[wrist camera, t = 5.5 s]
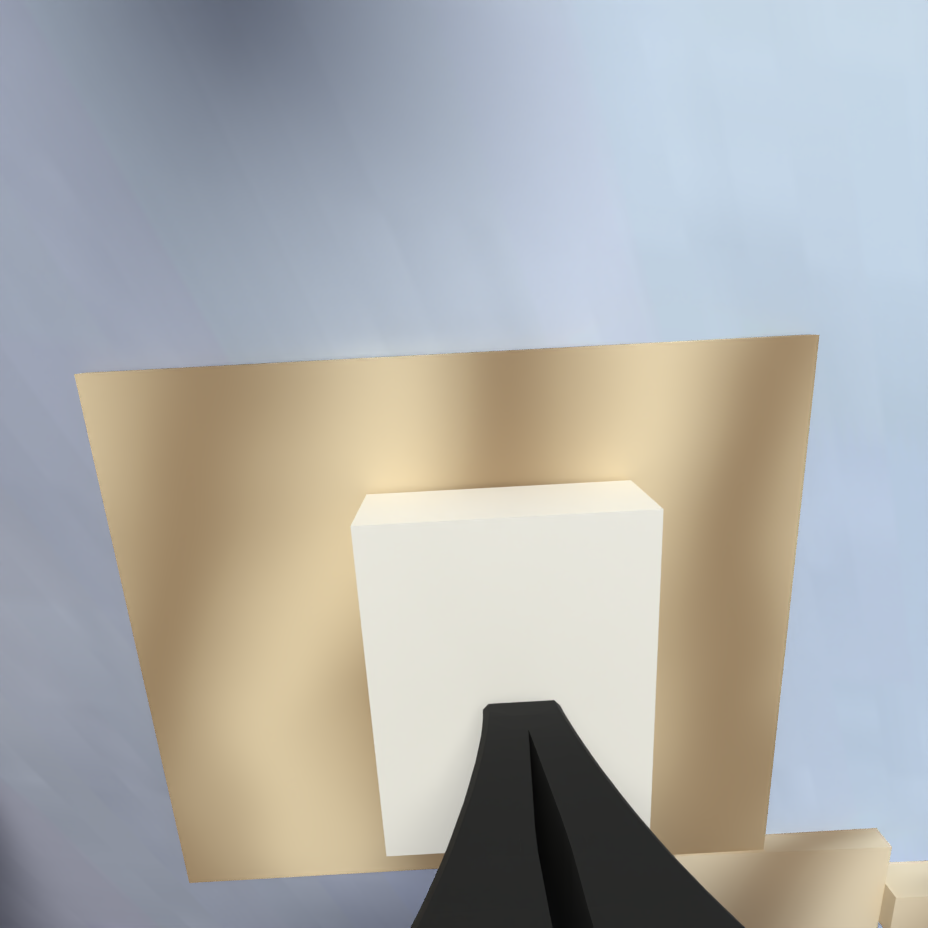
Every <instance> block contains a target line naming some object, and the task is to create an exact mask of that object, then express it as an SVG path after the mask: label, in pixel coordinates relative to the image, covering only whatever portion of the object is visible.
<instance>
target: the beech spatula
mask: <svg viewBox="0 0 928 928" xmlns="http://www.w3.org/2000/svg"><path fill="white" fill-rule="evenodd" d="M891 849H892V847H891V845H890V844H889V843H888V842H887V841H886V839H885V838H884V837H883V836H882V834H881V833H880V832H879V831H878V830H877V828H870V829H853V830H835V831H818V832H801V833H784V834H767V835H765V841H764V850H749V851H732V852H715V853H697V854H680V855H673V856H674V857H675V858H676V859H677V860H678V861H679V862H680V863H681V864H682V865H683V866H684V867H685V868H686V870H687V871H688V872H689V873H690V874H691V875H692V876H693V877H694V878H695V879H696V880H697V881H698V882H699V883H700V884H701V885H702V886H703V887H704V888H705V889H706V890H707V891H708V892H709V893H710V894H711V895H712V896H713V897H714V898H715V899H716V900H717V901H718V902H719V903H720V904H721V905H722V906H723V907H724V908H725V909H726V910H727V911H729V912H730V913H731V914H732V915H733V916H734V917H735V918H736V919H737V920H738V921H739V922H740V923H741V924H742V925H743V926H744V927H745V928H877V927H878V921H879V923H880V924H881V925H882V927H883V928H928V861H911V862H890V863H889V860H890V854H891Z"/></svg>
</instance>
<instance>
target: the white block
mask: <svg viewBox="0 0 928 928" xmlns="http://www.w3.org/2000/svg"><path fill="white" fill-rule="evenodd" d="M663 510H664V509H663V508H662V507H661V506H659V505H658V504H657V503H656V502H655V501H654V500H653V499H652V498H650V497H649V496H648V495H647V494H646V493H645V492H644V491H643V490H641V489H640V488H639V487H638V486H637V485H636V484H635V483H634V482H632V481H631V480H624V481H605V482H587V483H569V484H550V485H532V486H513V487H495V488H476V489H458V490H439V491H421V492H402V493H384V494H366V496H365V498H364V500H363V502H362V504H361V506H360V508H359V510H358V512H357V514H356V516H355V518H354V520H353V522H352V524H351V526H350V527H351V536H352V545H353V554H354V564H355V573H356V582H357V591H358V600H359V609H360V619H361V628H362V637H363V646H364V655H365V664H366V673H367V683H368V692H369V701H370V710H371V719H372V728H373V738H374V747H375V756H376V765H377V774H378V783H379V792H380V802H381V811H382V820H383V829H384V838H385V847H386V856H402V855H420V854H437V853H445V852H446V849H447V847H448V844H449V841H450V839H451V836H452V833H453V830H454V828H455V825H456V822H457V819H458V817H459V814H460V811H461V808H462V805H463V803H464V799H465V796H466V793H467V790H468V786H469V783H470V779H471V775H472V772H473V768H474V765H475V761H476V757H477V752H478V748H479V743H480V738H481V731H482V723H483V709H484V708H485V707H486V706H487V705H488V704H493V703H511V702H529V701H546V700H555V701H556V702H557V703H558V704H559V705H560V706H561V708H562V710H563V711H564V713H565V715H566V717H567V718H568V720H569V722H570V723H571V725H572V726H573V728H574V729H575V731H576V733H577V734H578V736H579V737H580V739H581V740H582V742H583V743H584V744H585V746H586V747H587V749H588V750H589V752H590V753H591V755H592V756H593V757H594V759H595V760H596V762H597V763H598V764H599V766H600V767H601V768H602V770H603V771H604V772H605V774H606V775H607V776H608V778H609V779H610V780H611V782H612V783H613V784H614V786H615V787H616V788H617V789H618V791H619V792H620V793H621V795H622V796H623V797H624V798H625V800H626V801H627V802H628V803H629V805H630V806H631V807H632V808H633V810H634V811H635V812H636V813H637V814H638V816H639V817H640V818H641V819H642V820H643V822H644V823H645V824H646V825H647V826H648V827H649V829H650V818H651V794H652V771H653V747H654V723H655V700H656V676H657V652H658V629H659V605H660V581H661V558H662V534H663Z"/></svg>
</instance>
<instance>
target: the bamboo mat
mask: <svg viewBox="0 0 928 928" xmlns="http://www.w3.org/2000/svg"><path fill="white" fill-rule="evenodd" d="M818 342H819V335H791V336H772V337H753V338H734V339H715V340H697V341H678V342H659V343H640V344H621V345H602V346H583V347H564V348H545V349H526V350H507V351H489V352H470V353H451V354H432V355H413V356H394V357H375V358H356V359H337V360H318V361H299V362H281V363H262V364H243V365H224V366H205V367H186V368H167V369H148V370H129V371H110V372H91V373H81V374H74V375H75V379H76V384H77V388H78V393H79V397H80V402H81V406H82V410H83V415H84V419H85V424H86V428H87V432H88V437H89V441H90V446H91V450H92V455H93V459H94V463H95V468H96V472H97V477H98V481H99V485H100V490H101V494H102V499H103V503H104V508H105V512H106V516H107V521H108V525H109V530H110V534H111V538H112V543H113V547H114V552H115V556H116V561H117V565H118V569H119V574H120V578H121V583H122V587H123V591H124V596H125V600H126V605H127V609H128V614H129V618H130V622H131V627H132V631H133V636H134V640H135V644H136V649H137V653H138V658H139V662H140V667H141V671H142V675H143V680H144V684H145V689H146V693H147V697H148V702H149V706H150V711H151V715H152V720H153V724H154V728H155V733H156V737H157V742H158V746H159V750H160V755H161V759H162V764H163V768H164V773H165V777H166V781H167V786H168V790H169V795H170V799H171V803H172V808H173V812H174V817H175V821H176V826H177V830H178V834H179V839H180V843H181V848H182V852H183V856H184V861H185V865H186V870H187V874H188V879H189V883H195V882H213V881H230V880H247V879H265V878H282V877H299V876H317V875H334V874H351V873H368V872H386V871H403V870H420V869H438V868H439V866H440V864H441V861H442V859H443V856H444V854H445V853H437V854H420V855H402V856H386V847H385V838H384V829H383V820H382V811H381V802H380V792H379V783H378V774H377V765H376V756H375V747H374V738H373V728H372V719H371V710H370V701H369V692H368V683H367V673H366V664H365V655H364V646H363V637H362V628H361V619H360V609H359V600H358V591H357V582H356V573H355V564H354V554H353V545H352V536H351V527H350V526H351V524H352V522H353V520H354V518H355V516H356V514H357V512H358V510H359V508H360V506H361V504H362V502H363V500H364V498H365V496H366V494H384V493H402V492H421V491H439V490H458V489H476V488H495V487H513V486H532V485H550V484H569V483H587V482H605V481H624V480H631V481H632V482H634V483H635V484H636V485H637V486H638V487H639V488H640V489H641V490H643V491H644V492H645V493H646V494H647V495H648V496H649V497H650V498H652V499H653V500H654V501H655V502H656V503H657V504H658V505H659V506H661V507H662V508H663V509H664V510H663V534H662V558H661V581H660V605H659V629H658V652H657V676H656V700H655V723H654V747H653V771H652V794H651V818H650V830H651V831H652V832H653V833H654V834H655V836H656V837H657V838H658V839H659V840H660V841H661V842H662V843H663V845H664V846H665V847H666V848H667V849H668V850H669V851H670V852H671V853H672V855H680V854H697V853H715V852H732V851H749V850H764V841H765V832H766V823H767V814H768V804H769V795H770V786H771V777H772V767H773V758H774V749H775V740H776V730H777V721H778V712H779V703H780V693H781V684H782V675H783V666H784V656H785V647H786V638H787V629H788V619H789V610H790V601H791V592H792V582H793V573H794V564H795V555H796V545H797V536H798V527H799V518H800V508H801V499H802V490H803V481H804V471H805V462H806V453H807V444H808V434H809V425H810V416H811V406H812V397H813V388H814V379H815V369H816V360H817V351H818Z"/></svg>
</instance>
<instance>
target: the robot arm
mask: <svg viewBox="0 0 928 928" xmlns="http://www.w3.org/2000/svg"><path fill="white" fill-rule="evenodd" d="M411 928H745V927H744V926H743V925H742V924H741V923H740V922H739V921H738V920H737V919H736V918H735V917H734V916H733V915H732V914H731V913H730V912H729V911H727V910H726V909H725V908H724V907H723V906H722V905H721V904H720V903H719V902H718V901H717V900H716V899H715V898H714V897H713V896H712V895H711V894H710V893H709V892H708V891H707V890H706V889H705V888H704V887H703V886H702V885H701V884H700V883H699V882H698V881H697V880H696V879H695V878H694V877H693V876H692V875H691V874H690V873H689V872H688V871H687V870H686V868H685V867H684V866H683V865H682V864H681V863H680V862H679V861H678V860H677V859H676V858H675V857H674V856H673V855H672V853H671V852H670V851H669V850H668V849H667V848H666V847H665V846H664V845H663V843H662V842H661V841H660V840H659V839H658V838H657V837H656V836H655V834H654V833H653V832H652V831H651V830H650V829H649V827H648V826H647V825H646V824H645V823H644V822H643V820H642V819H641V818H640V817H639V816H638V814H637V813H636V812H635V811H634V810H633V808H632V807H631V806H630V805H629V803H628V802H627V801H626V800H625V798H624V797H623V796H622V795H621V793H620V792H619V791H618V789H617V788H616V787H615V786H614V784H613V783H612V782H611V780H610V779H609V778H608V776H607V775H606V774H605V772H604V771H603V770H602V768H601V767H600V766H599V764H598V763H597V762H596V760H595V759H594V757H593V756H592V755H591V753H590V752H589V750H588V749H587V747H586V746H585V744H584V743H583V742H582V740H581V739H580V737H579V736H578V734H577V733H576V731H575V729H574V728H573V726H572V725H571V723H570V722H569V720H568V718H567V717H566V715H565V713H564V711H563V710H562V708H561V706H560V705H559V704H558V703H557V702H556V701H555V700H546V701H529V702H511V703H493V704H488V705H487V706H486V707H485V708H484V709H483V723H482V731H481V738H480V743H479V748H478V752H477V757H476V761H475V765H474V768H473V772H472V775H471V779H470V783H469V786H468V790H467V793H466V796H465V799H464V803H463V805H462V808H461V811H460V814H459V817H458V819H457V822H456V825H455V828H454V830H453V833H452V836H451V839H450V841H449V844H448V847H447V849H446V852H445V854H444V856H443V859H442V861H441V864H440V866H439V869H438V871H437V873H436V876H435V878H434V880H433V882H432V884H431V887H430V889H429V891H428V893H427V895H426V898H425V900H424V902H423V904H422V906H421V908H420V910H419V912H418V914H417V916H416V918H415V920H414V922H413V924H412V926H411Z"/></svg>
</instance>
